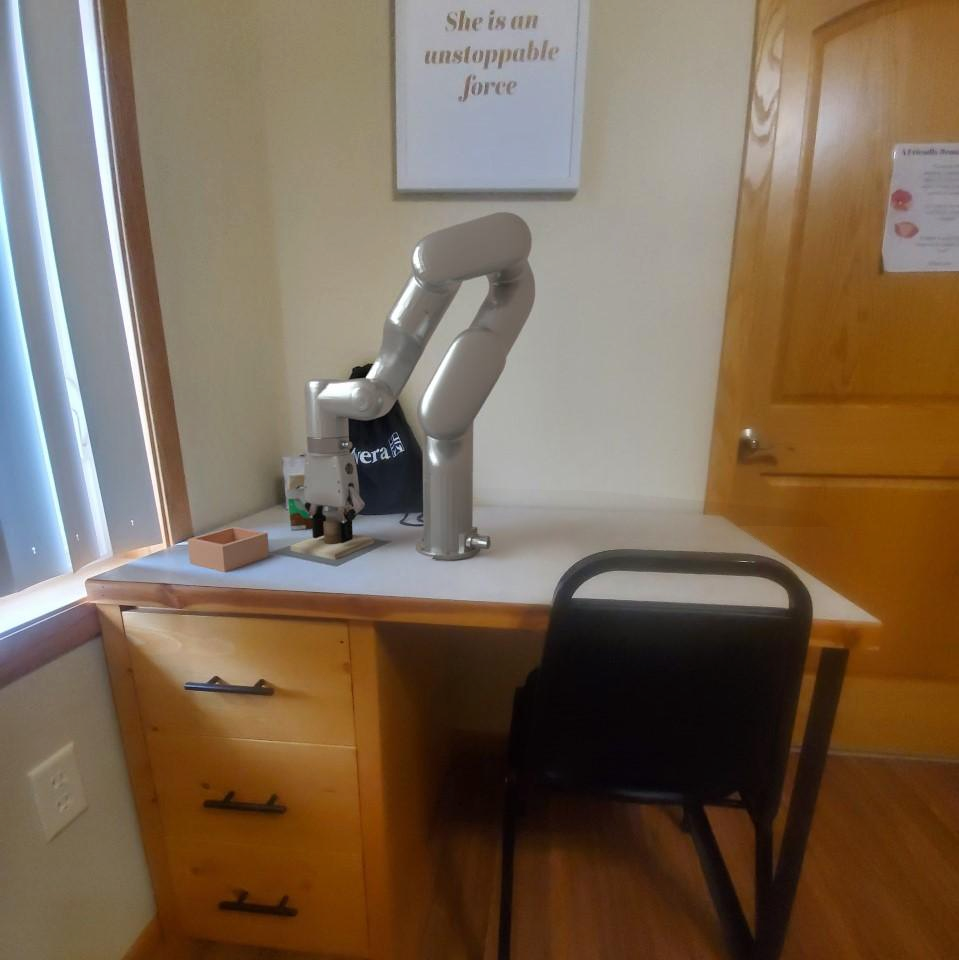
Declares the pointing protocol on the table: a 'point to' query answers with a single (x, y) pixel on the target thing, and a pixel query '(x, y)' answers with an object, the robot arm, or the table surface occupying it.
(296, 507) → the food container
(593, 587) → the table surface
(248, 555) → the open square bin
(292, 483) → the box
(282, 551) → the mat
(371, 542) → the lid
